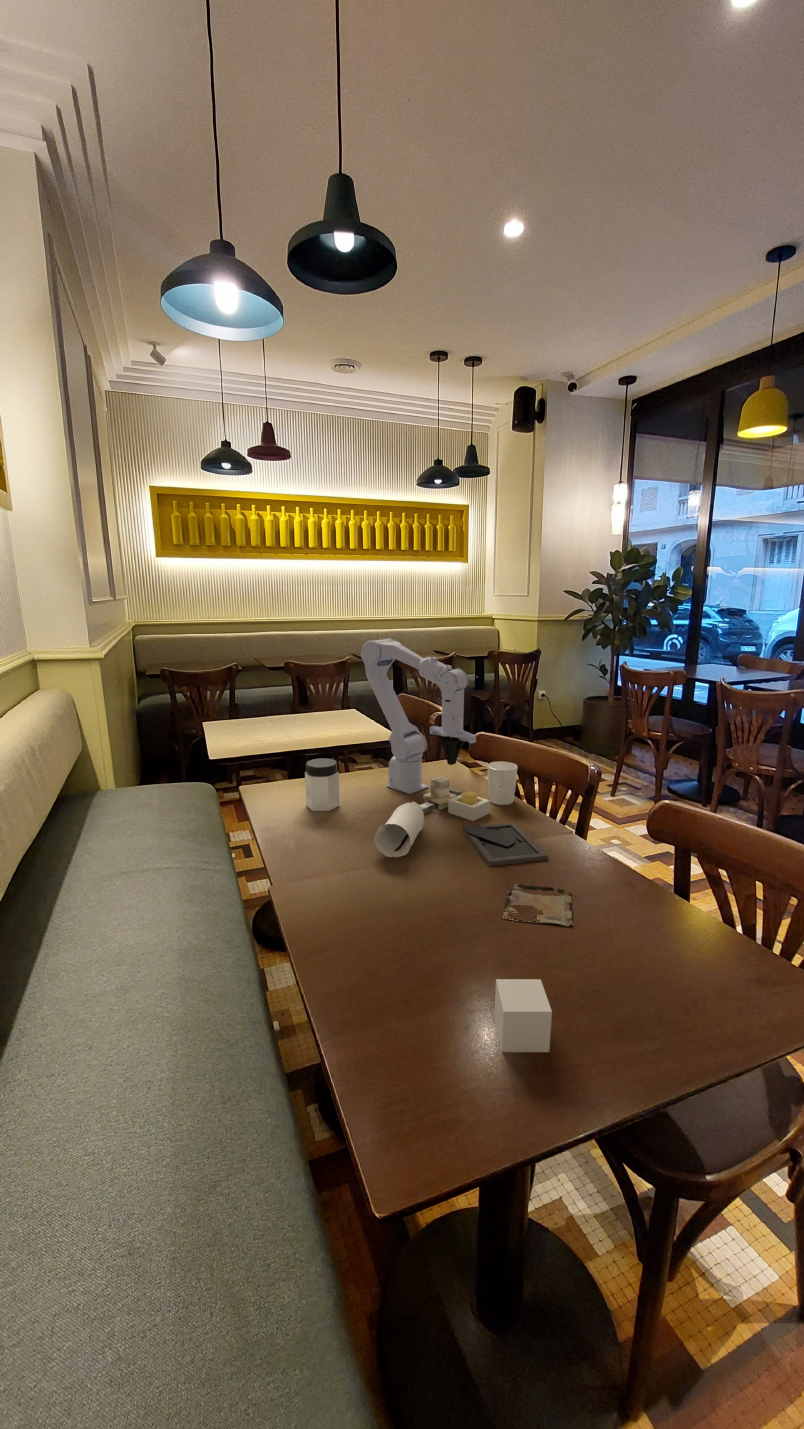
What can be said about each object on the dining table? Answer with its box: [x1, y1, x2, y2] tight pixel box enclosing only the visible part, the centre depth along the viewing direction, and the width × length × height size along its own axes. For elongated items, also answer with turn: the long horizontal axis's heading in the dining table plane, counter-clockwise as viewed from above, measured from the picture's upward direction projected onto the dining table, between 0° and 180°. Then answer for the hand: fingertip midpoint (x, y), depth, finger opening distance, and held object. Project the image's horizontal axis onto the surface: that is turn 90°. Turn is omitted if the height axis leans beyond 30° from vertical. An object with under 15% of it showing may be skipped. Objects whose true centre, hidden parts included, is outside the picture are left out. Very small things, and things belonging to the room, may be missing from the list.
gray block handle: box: [419, 787, 463, 815], centre depth 151 cm, size 4×20×2 cm, turn 136°
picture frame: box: [461, 821, 549, 867], centre depth 130 cm, size 13×2×18 cm
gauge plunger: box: [461, 791, 478, 805], centre depth 148 cm, size 4×4×4 cm
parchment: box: [502, 883, 574, 927], centre depth 106 cm, size 12×13×1 cm
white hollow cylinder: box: [373, 800, 425, 858], centre depth 132 cm, size 8×19×8 cm, turn 163°
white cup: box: [487, 761, 518, 806], centre depth 156 cm, size 8×8×10 cm
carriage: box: [422, 776, 456, 811], centre depth 153 cm, size 6×6×7 cm
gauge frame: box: [447, 795, 491, 822], centre depth 148 cm, size 8×7×4 cm
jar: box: [304, 757, 341, 812], centre depth 152 cm, size 9×8×12 cm
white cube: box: [494, 978, 553, 1053], centre depth 75 cm, size 6×6×6 cm
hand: (451, 763), depth 157 cm, fingers closed
